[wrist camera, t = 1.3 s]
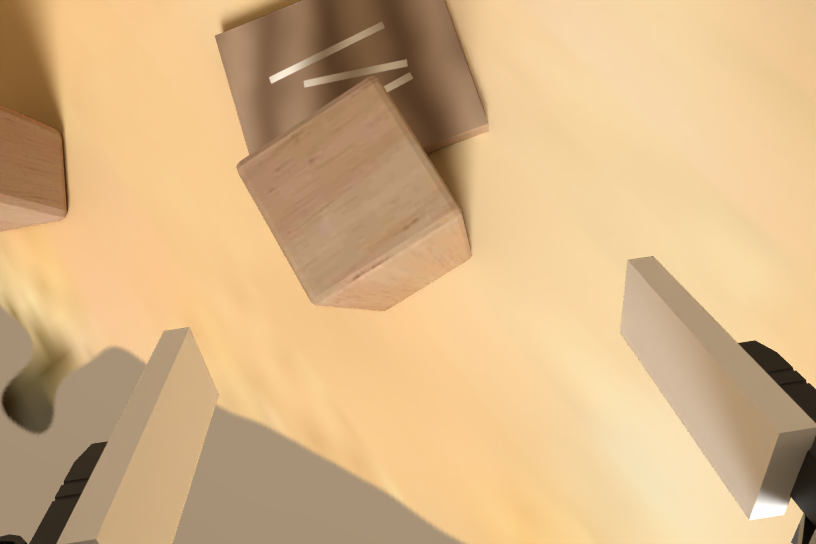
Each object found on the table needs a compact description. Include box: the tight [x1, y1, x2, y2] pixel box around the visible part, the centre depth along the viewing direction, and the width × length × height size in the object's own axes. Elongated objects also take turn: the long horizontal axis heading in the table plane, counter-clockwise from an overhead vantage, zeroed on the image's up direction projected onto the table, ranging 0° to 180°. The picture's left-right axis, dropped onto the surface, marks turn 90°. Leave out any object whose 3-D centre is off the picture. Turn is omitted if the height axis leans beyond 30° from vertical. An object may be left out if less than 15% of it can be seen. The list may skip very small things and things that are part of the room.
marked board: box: [215, 0, 488, 155], centre depth 51 cm, size 22×18×2 cm
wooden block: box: [237, 76, 472, 311], centre depth 40 cm, size 10×10×20 cm
